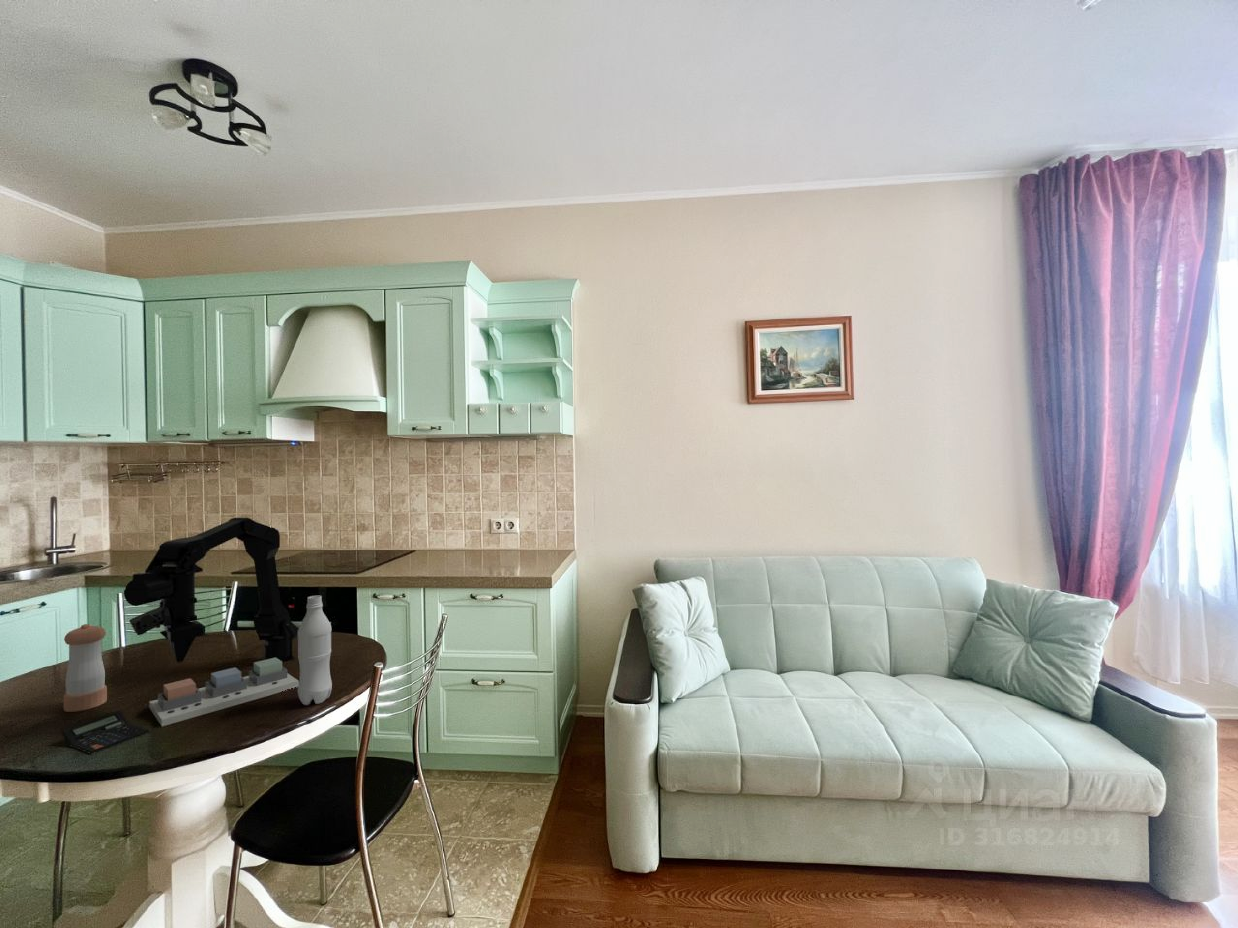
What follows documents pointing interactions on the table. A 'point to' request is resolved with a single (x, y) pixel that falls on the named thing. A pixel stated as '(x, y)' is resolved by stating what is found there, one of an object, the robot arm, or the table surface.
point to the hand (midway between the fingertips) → (179, 661)
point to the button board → (220, 696)
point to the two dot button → (225, 677)
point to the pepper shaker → (85, 669)
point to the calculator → (102, 733)
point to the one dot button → (267, 666)
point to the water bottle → (314, 654)
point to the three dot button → (179, 689)
